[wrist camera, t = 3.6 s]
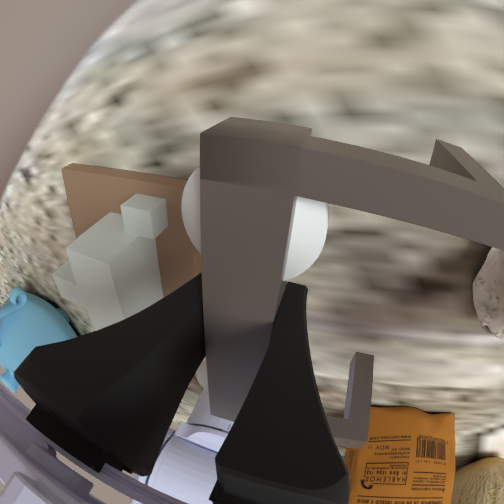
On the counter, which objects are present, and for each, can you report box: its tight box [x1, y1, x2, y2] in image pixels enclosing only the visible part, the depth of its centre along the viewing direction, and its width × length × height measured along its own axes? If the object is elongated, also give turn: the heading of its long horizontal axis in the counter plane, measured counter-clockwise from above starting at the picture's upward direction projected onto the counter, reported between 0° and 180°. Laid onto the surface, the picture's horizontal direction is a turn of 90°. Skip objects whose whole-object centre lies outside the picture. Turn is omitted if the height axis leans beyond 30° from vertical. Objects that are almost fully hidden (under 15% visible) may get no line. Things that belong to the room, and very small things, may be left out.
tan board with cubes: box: [52, 163, 201, 331], centre depth 23 cm, size 12×15×6 cm
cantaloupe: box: [450, 457, 504, 504], centre depth 24 cm, size 15×15×15 cm
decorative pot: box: [0, 287, 78, 393], centre depth 35 cm, size 16×16×14 cm
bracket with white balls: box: [181, 117, 504, 449], centre depth 11 cm, size 8×12×5 cm, turn 176°
